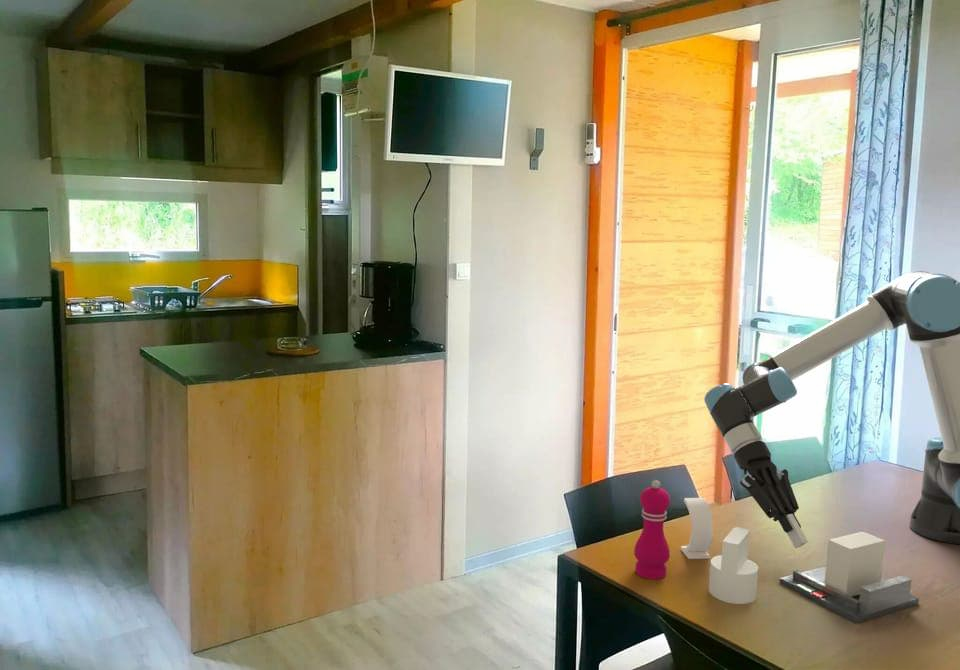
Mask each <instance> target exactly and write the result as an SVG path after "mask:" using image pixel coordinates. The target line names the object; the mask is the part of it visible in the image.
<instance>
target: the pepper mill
mask: <svg viewBox="0 0 960 670" xmlns="http://www.w3.org/2000/svg"><path fill="white" fill-rule="evenodd" d="M639 498H640V499H639V501H640V502H639V503H640V505H641V506H642V509H641V512H642V513H641V517H642V518H643V528H642V531H641V533H640V535H639V537H638V538H637V541H636V542H635V543H636V544H635V546H634V550H633V553H634V556H635V558H636V560H637V561H636V563H635V573H636V574H637V576H639V577H641V578H645V579H647V580H661V579H663V578H665V577H666V575H667V565H666V563H667V562H668V561H669V559H670V557H671V556H670V555H671V554H670V546H669V544H668V542H667V539H666V536H665V533H664V523H665V520H667V518H668V517H667V514H668V513H667V509H668V508H669V507H670V503H671V497H670V495H669V493H668V492H667V491H666V489H664V488H662V487H661V482H660V481H659V480H653V481H651V486H648V487H647V488H645V489H644V490H642V492H641V494H640V497H639Z"/></svg>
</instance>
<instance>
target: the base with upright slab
mask: <svg viewBox="0 0 960 670" xmlns="http://www.w3.org/2000/svg"><path fill="white" fill-rule="evenodd" d="M750 532H751V531H750V529H746V528H743V527H737V526H735V527H733V528H732V529H731V531H730V532H729V533H728V534H727V535H726V536H725V538H724V539H723V540H722V548H721V549H722V550H721V555H720V554H719V555H715V556H713V557H712V558H711V560H710V567H709V579H708V580H709V581H708V592H709V594H710V595H711V596H712V597H714V598H715V599H718V600H720V601H722V602H725V603H728V604H729V603H730V604H735V605H736V604H737V605H739V604H740V605H745V604H750V603H754V601H755V600H756V599H757V591H758V578H759V577H758V576H759V566H758V564H757V563H755V561H754V560H750V559H748V558H749V557H748V556H749V544H750Z"/></svg>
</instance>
